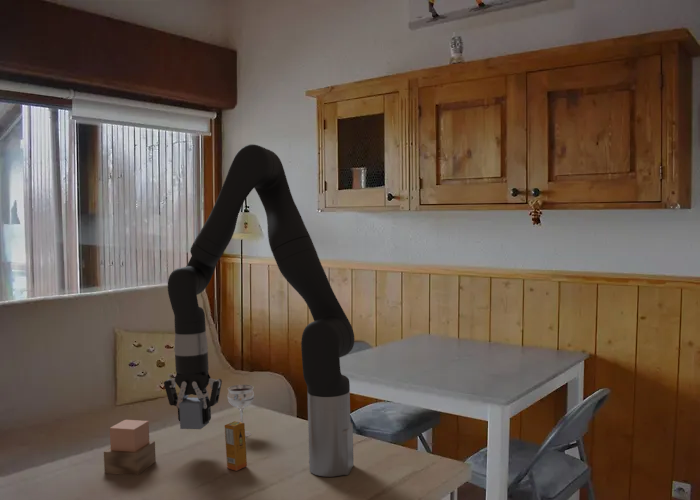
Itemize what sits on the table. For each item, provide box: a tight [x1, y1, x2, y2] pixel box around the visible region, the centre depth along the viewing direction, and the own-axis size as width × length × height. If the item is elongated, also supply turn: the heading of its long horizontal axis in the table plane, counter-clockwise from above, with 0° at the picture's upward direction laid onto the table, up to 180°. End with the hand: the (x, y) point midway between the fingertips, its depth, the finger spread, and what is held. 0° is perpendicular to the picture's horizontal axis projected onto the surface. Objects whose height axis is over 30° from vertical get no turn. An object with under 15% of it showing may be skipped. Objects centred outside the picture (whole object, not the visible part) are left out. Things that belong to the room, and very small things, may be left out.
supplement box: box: [224, 421, 248, 472], centre depth 146 cm, size 3×4×10 cm
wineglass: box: [227, 384, 255, 438], centre depth 169 cm, size 7×7×12 cm
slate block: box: [179, 397, 210, 430], centre depth 155 cm, size 5×5×6 cm
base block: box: [103, 440, 157, 476], centre depth 148 cm, size 8×8×5 cm
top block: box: [109, 419, 150, 452], centre depth 148 cm, size 6×6×5 cm
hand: (194, 422), depth 155 cm, fingers closed on slate block, 5 cm apart
